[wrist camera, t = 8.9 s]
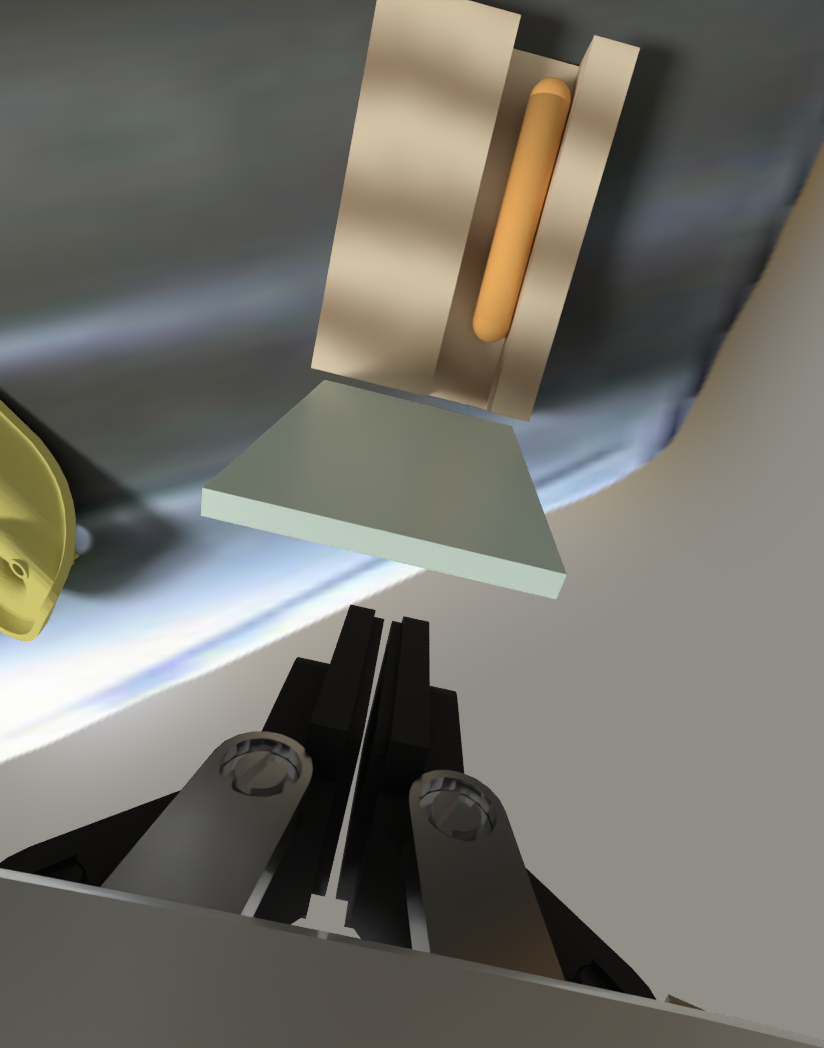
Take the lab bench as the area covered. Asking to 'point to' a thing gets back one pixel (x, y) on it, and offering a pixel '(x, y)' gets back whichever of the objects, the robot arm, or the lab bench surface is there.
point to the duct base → (457, 203)
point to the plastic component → (31, 529)
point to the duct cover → (395, 488)
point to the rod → (521, 207)
